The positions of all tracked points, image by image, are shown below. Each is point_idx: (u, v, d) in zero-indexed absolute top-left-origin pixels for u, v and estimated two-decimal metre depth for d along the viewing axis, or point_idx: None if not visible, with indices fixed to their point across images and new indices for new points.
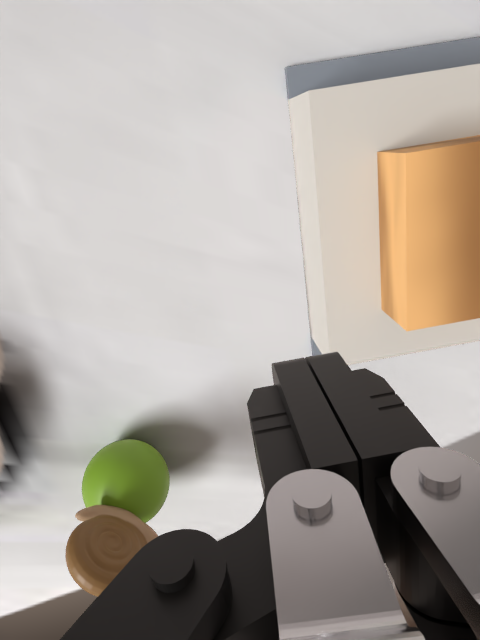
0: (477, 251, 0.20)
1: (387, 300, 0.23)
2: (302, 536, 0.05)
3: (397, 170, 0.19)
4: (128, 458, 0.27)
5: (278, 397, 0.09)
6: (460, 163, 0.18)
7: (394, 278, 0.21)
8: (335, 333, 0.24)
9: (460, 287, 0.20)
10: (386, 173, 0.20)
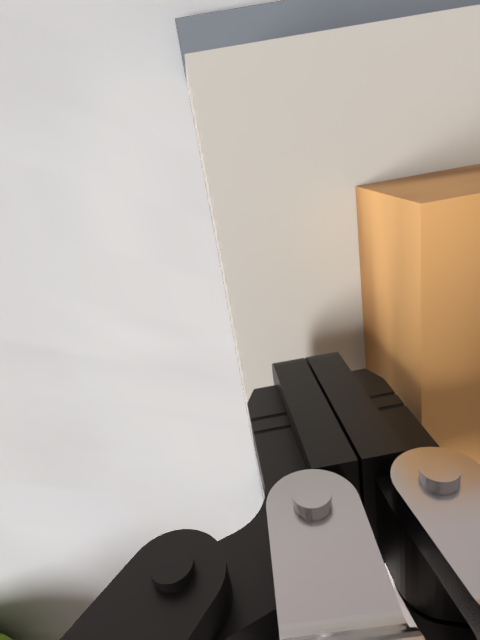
0: None
1: None
2: (302, 536, 0.05)
3: (399, 238, 0.08)
4: None
5: (278, 397, 0.09)
6: None
7: None
8: None
9: None
10: (374, 236, 0.09)
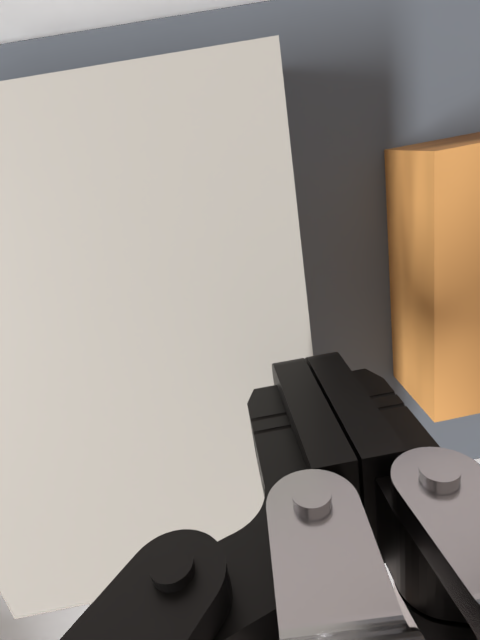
0: None
1: None
2: (302, 536, 0.05)
3: None
4: None
5: (278, 397, 0.09)
6: None
7: None
8: (3, 569, 0.13)
9: None
10: None
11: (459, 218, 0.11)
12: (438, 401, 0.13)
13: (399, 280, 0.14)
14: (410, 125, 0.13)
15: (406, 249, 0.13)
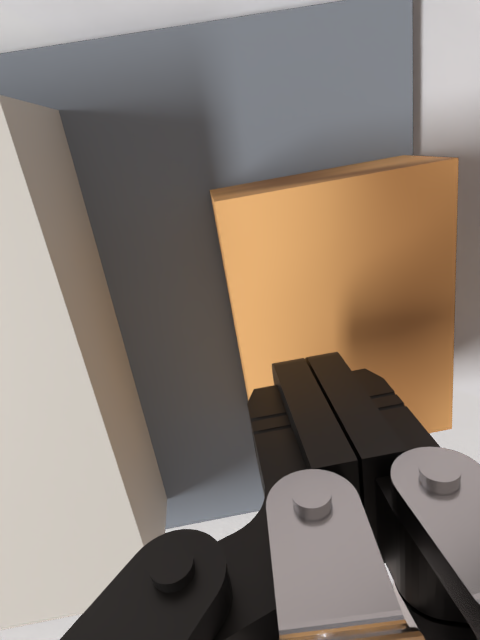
0: None
1: None
2: (301, 536, 0.05)
3: None
4: None
5: (278, 397, 0.09)
6: None
7: None
8: None
9: None
10: None
11: (253, 267, 0.11)
12: None
13: None
14: (234, 165, 0.13)
15: (229, 291, 0.13)
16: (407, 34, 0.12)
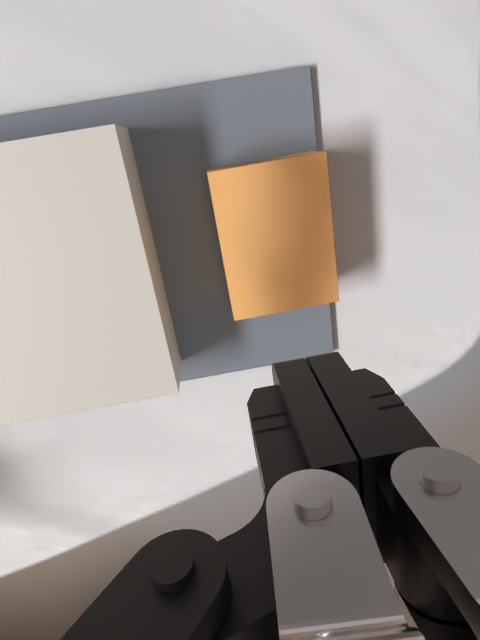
0: None
1: None
2: (302, 536, 0.05)
3: None
4: None
5: (278, 397, 0.09)
6: None
7: None
8: None
9: None
10: None
11: (226, 206, 0.22)
12: (234, 308, 0.24)
13: (219, 242, 0.25)
14: (219, 156, 0.24)
15: (216, 224, 0.24)
16: (309, 87, 0.24)
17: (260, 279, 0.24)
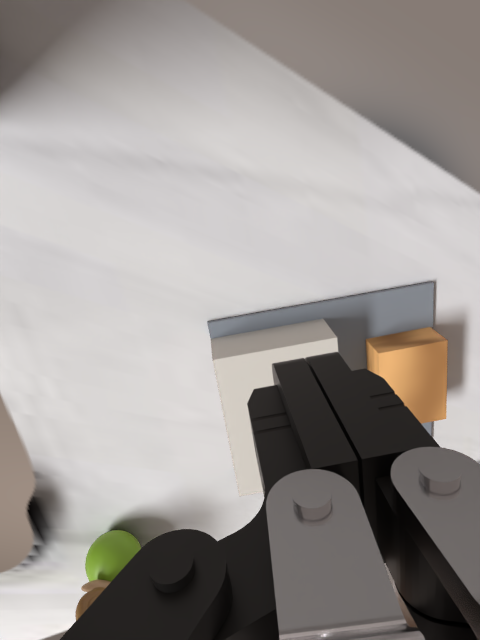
0: None
1: None
2: (302, 536, 0.05)
3: None
4: (114, 547, 0.42)
5: (278, 397, 0.09)
6: None
7: None
8: (240, 477, 0.39)
9: None
10: None
11: (386, 370, 0.38)
12: None
13: None
14: (374, 332, 0.40)
15: None
16: (431, 293, 0.39)
17: None
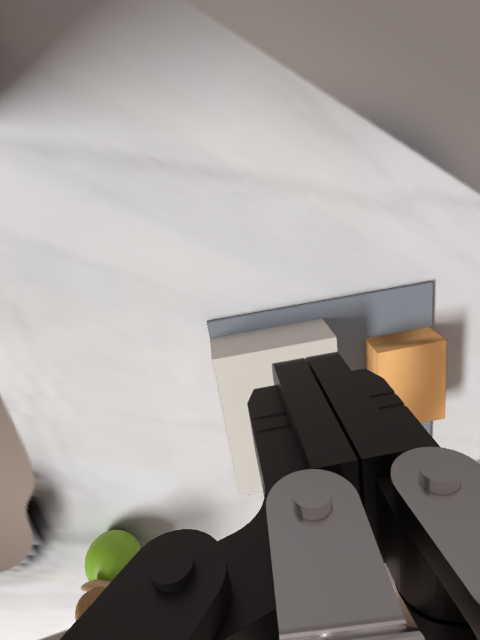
0: None
1: None
2: (302, 536, 0.05)
3: None
4: (114, 547, 0.42)
5: (278, 397, 0.09)
6: None
7: None
8: (239, 477, 0.39)
9: None
10: None
11: (386, 369, 0.38)
12: None
13: None
14: (373, 331, 0.40)
15: None
16: (431, 293, 0.39)
17: None
